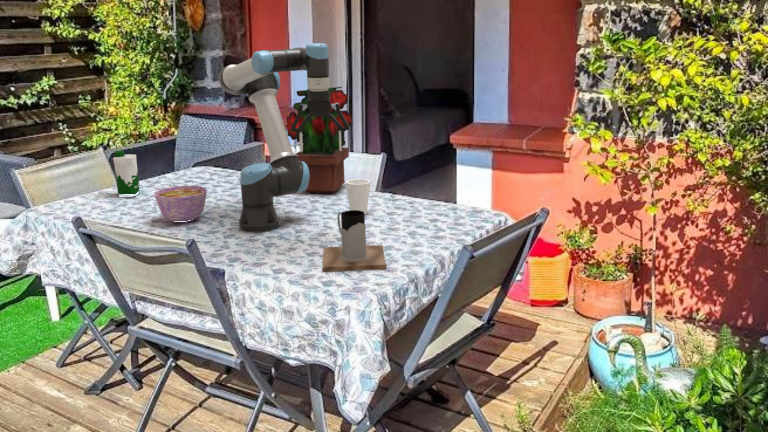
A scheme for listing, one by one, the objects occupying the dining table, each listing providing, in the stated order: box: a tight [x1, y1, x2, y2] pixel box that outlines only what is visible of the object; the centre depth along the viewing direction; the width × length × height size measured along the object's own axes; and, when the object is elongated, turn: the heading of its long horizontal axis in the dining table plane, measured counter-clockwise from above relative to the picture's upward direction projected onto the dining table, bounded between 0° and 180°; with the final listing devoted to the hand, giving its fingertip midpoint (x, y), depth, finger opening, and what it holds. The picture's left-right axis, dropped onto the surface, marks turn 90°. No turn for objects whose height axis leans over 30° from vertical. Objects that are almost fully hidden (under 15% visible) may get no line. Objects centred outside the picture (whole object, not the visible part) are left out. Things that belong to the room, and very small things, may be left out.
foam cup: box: [345, 178, 371, 215], centre depth 308 cm, size 10×9×13 cm
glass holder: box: [336, 209, 368, 262], centre depth 253 cm, size 9×14×15 cm, turn 32°
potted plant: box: [286, 86, 352, 195], centre depth 341 cm, size 22×22×45 cm
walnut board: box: [322, 244, 387, 273], centre depth 256 cm, size 20×20×2 cm
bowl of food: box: [153, 185, 208, 222], centre depth 305 cm, size 20×20×12 cm
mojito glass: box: [112, 150, 140, 195], centre depth 343 cm, size 9×9×20 cm
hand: (321, 150), depth 273 cm, fingers open, 13 cm apart
